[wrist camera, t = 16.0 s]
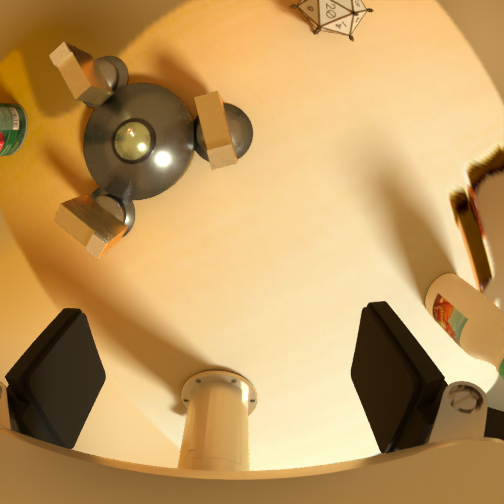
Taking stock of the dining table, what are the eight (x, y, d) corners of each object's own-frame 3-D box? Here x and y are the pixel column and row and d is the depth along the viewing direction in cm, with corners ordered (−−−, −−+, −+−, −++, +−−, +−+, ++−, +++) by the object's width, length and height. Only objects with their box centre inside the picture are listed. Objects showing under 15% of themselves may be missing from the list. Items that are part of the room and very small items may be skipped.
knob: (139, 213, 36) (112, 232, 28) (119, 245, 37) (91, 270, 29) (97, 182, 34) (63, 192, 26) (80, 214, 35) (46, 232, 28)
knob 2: (250, 156, 34) (252, 159, 26) (207, 168, 34) (195, 174, 26) (236, 99, 32) (233, 85, 24) (192, 111, 32) (176, 101, 24)
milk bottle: (436, 267, 40) (521, 337, 21) (466, 276, 41) (545, 339, 22) (416, 311, 42) (485, 393, 23) (447, 317, 43) (514, 389, 24)
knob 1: (75, 76, 29) (39, 65, 21) (105, 50, 28) (74, 32, 21) (97, 114, 31) (62, 108, 23) (129, 87, 30) (100, 74, 23)
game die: (330, 36, 32) (376, 57, 27) (274, 25, 29) (315, 41, 24) (345, -17, 26) (396, -6, 20) (288, -35, 23) (335, -33, 17)
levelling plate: (181, 278, 39) (176, 289, 36) (36, 199, 35) (22, 204, 32) (263, 121, 33) (265, 118, 30) (95, 50, 29) (83, 44, 25)
